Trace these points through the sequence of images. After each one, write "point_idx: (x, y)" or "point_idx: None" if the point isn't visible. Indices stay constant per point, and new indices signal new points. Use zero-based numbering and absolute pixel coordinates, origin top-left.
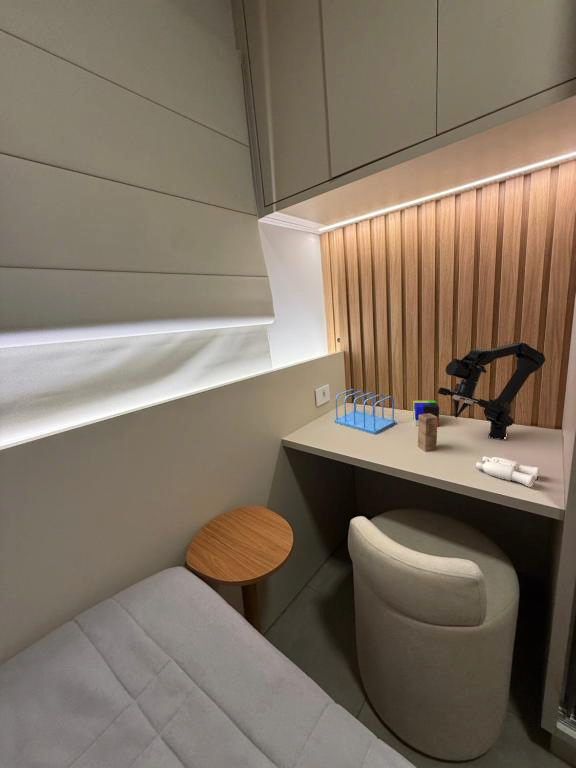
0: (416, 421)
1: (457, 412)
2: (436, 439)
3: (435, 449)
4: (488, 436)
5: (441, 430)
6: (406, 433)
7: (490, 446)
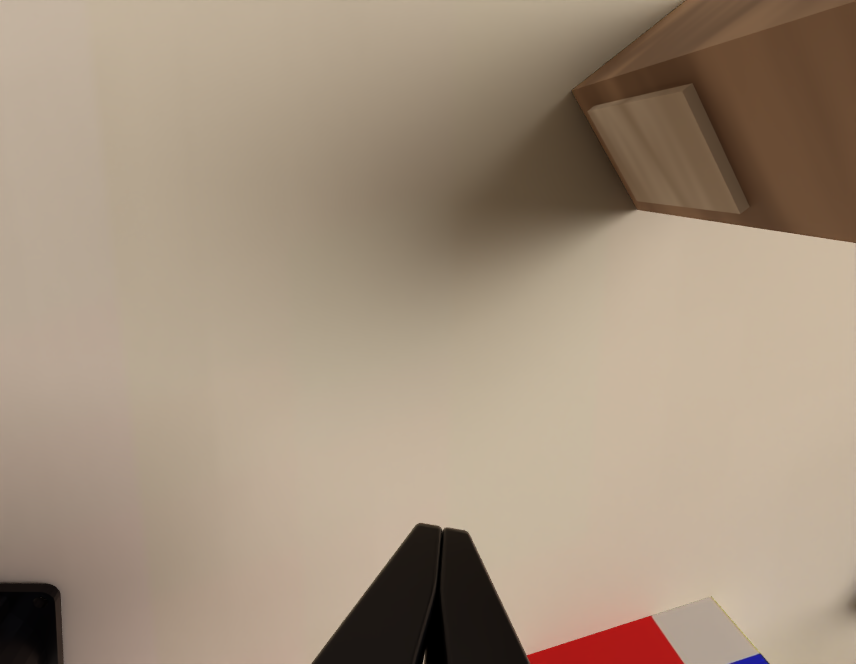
0: (744, 643)
1: (443, 639)
2: (649, 63)
3: (584, 81)
4: (52, 596)
5: (501, 595)
6: (807, 426)
7: (6, 373)
